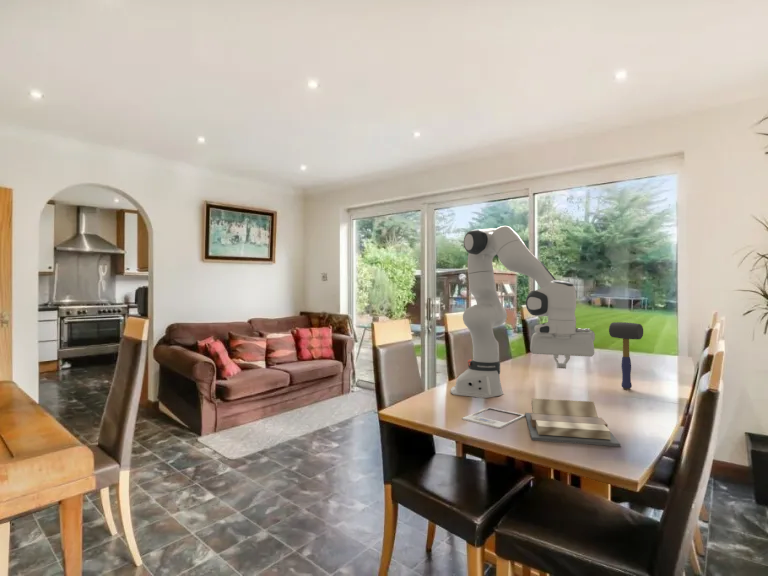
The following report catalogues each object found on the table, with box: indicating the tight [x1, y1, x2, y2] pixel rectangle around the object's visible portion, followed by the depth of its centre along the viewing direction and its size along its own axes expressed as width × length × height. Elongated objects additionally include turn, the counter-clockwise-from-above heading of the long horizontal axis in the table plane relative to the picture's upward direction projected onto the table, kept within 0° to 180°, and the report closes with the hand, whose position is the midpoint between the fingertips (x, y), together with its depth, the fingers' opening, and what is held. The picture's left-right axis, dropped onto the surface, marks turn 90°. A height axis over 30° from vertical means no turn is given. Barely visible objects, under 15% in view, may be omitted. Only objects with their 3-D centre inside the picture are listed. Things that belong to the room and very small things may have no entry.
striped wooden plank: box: [529, 412, 609, 429], centre depth 136 cm, size 22×7×2 cm, turn 76°
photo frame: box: [461, 407, 526, 429], centre depth 148 cm, size 15×1×18 cm
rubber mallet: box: [608, 321, 644, 390], centre depth 188 cm, size 12×8×30 cm, turn 37°
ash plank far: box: [531, 398, 599, 418], centre depth 143 cm, size 20×7×2 cm, turn 76°
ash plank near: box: [536, 420, 611, 440], centre depth 129 cm, size 20×7×2 cm, turn 76°
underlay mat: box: [524, 412, 621, 447], centre depth 136 cm, size 24×26×1 cm
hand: (561, 368), depth 144 cm, fingers closed
